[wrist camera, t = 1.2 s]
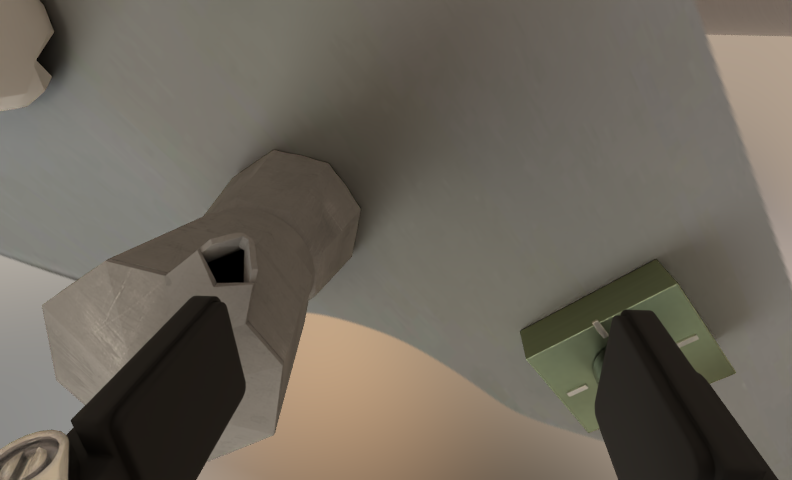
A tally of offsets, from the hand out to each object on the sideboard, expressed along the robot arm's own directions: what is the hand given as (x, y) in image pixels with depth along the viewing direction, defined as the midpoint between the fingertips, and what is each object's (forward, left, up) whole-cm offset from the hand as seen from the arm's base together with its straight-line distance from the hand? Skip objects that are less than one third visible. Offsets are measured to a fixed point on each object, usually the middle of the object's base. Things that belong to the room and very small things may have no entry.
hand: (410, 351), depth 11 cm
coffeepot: (+11, -2, -18) cm, 21 cm away
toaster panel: (-2, +18, -18) cm, 25 cm away
